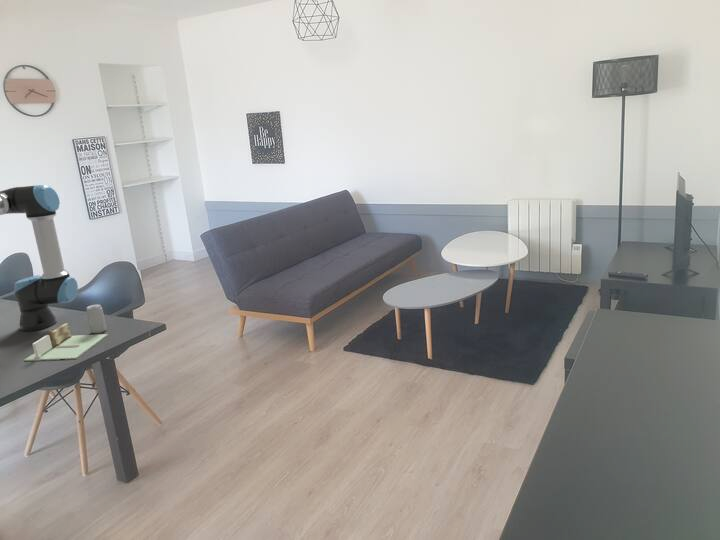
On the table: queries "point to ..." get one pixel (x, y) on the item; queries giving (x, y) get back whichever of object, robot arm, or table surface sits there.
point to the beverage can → (96, 319)
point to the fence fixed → (59, 334)
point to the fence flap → (42, 346)
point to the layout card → (70, 348)
